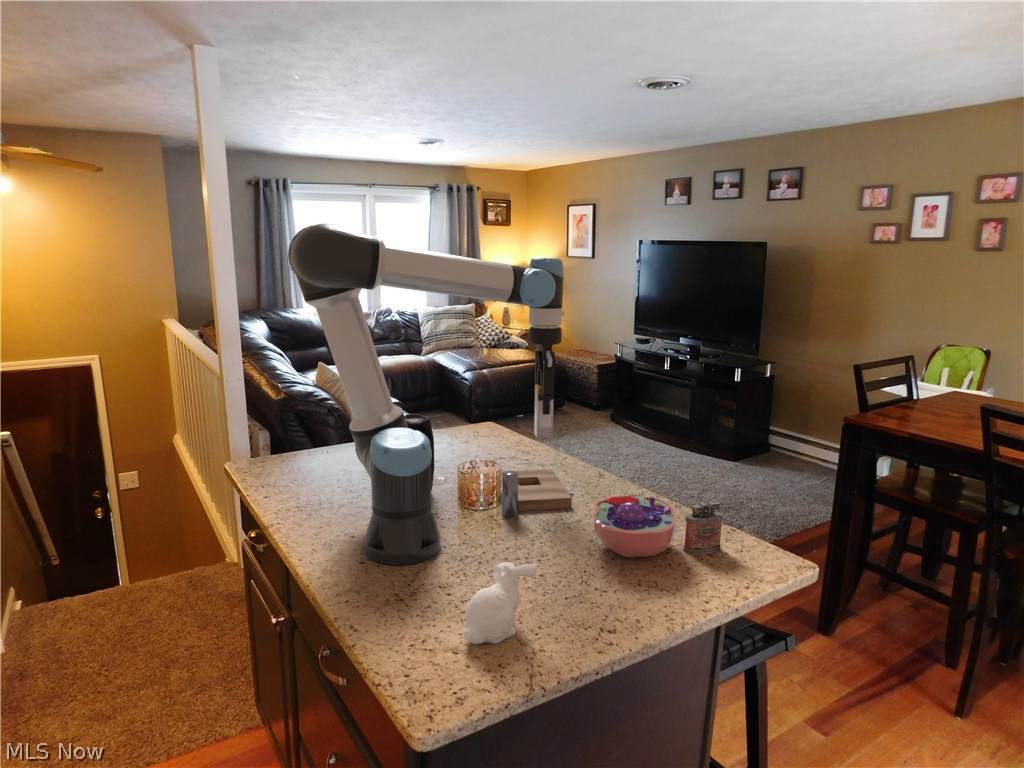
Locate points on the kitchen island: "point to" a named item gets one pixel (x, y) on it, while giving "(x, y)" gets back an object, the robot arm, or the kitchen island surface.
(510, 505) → the round bit
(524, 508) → the socket plate
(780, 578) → the kitchen island surface
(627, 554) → the cell model
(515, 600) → the rabbit
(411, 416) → the portable speaker
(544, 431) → the square bit
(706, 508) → the lighter
